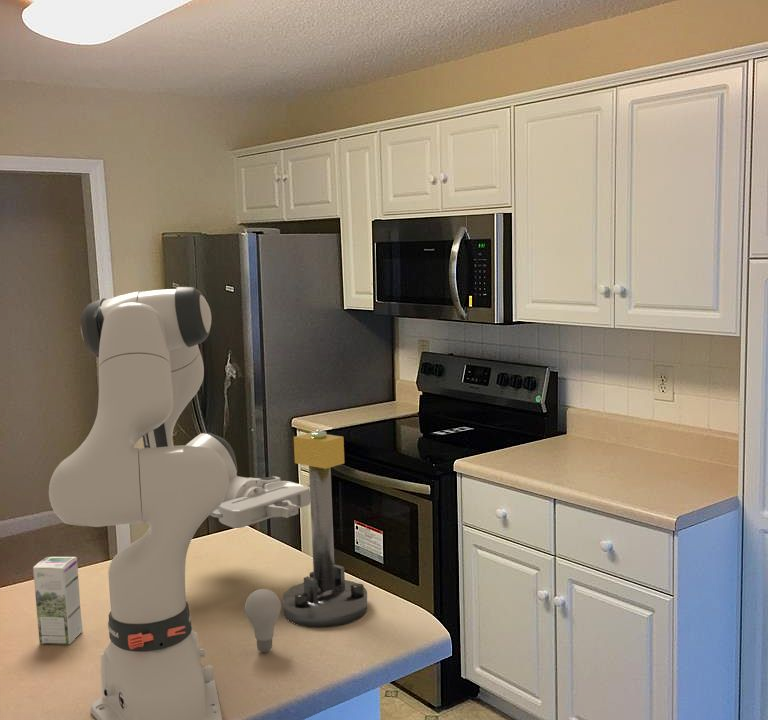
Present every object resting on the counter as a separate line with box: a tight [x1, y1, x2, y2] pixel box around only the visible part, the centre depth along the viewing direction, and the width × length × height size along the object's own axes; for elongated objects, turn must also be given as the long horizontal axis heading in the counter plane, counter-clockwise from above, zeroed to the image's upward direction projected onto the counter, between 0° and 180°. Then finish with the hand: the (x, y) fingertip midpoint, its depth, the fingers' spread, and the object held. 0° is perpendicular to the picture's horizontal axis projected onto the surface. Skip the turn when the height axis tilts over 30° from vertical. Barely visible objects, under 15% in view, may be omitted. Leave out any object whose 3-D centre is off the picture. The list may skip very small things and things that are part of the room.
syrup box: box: [32, 556, 83, 646], centre depth 155 cm, size 6×6×14 cm
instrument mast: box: [293, 429, 345, 595], centre depth 163 cm, size 8×6×31 cm
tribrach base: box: [282, 564, 368, 629], centre depth 165 cm, size 16×16×7 cm
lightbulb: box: [244, 588, 282, 654], centre depth 148 cm, size 6×6×11 cm
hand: (293, 511), depth 168 cm, fingers closed
